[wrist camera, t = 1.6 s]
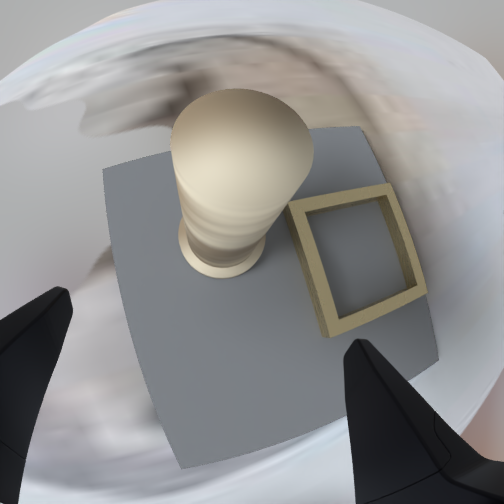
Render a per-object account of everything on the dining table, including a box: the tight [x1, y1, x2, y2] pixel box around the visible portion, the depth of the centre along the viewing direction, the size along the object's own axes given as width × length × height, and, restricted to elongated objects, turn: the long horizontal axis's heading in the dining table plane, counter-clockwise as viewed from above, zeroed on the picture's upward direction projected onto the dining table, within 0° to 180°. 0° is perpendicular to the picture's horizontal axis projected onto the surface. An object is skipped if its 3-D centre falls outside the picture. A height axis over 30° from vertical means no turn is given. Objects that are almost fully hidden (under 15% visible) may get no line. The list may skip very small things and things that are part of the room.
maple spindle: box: [170, 89, 314, 279], centre depth 15 cm, size 6×6×12 cm
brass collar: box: [283, 183, 428, 338], centre depth 21 cm, size 10×10×2 cm
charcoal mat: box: [103, 126, 439, 469], centre depth 21 cm, size 24×24×1 cm
